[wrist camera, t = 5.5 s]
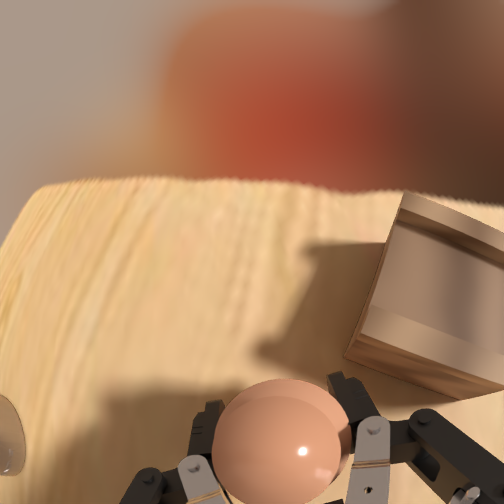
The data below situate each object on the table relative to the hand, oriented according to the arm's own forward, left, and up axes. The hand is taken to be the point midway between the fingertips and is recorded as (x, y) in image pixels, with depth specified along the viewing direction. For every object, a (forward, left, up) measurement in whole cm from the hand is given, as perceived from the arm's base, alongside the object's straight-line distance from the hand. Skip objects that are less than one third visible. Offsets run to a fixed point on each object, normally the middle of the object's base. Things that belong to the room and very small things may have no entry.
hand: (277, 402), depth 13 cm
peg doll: (+1, -1, -5) cm, 6 cm away
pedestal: (+7, +10, -5) cm, 13 cm away
